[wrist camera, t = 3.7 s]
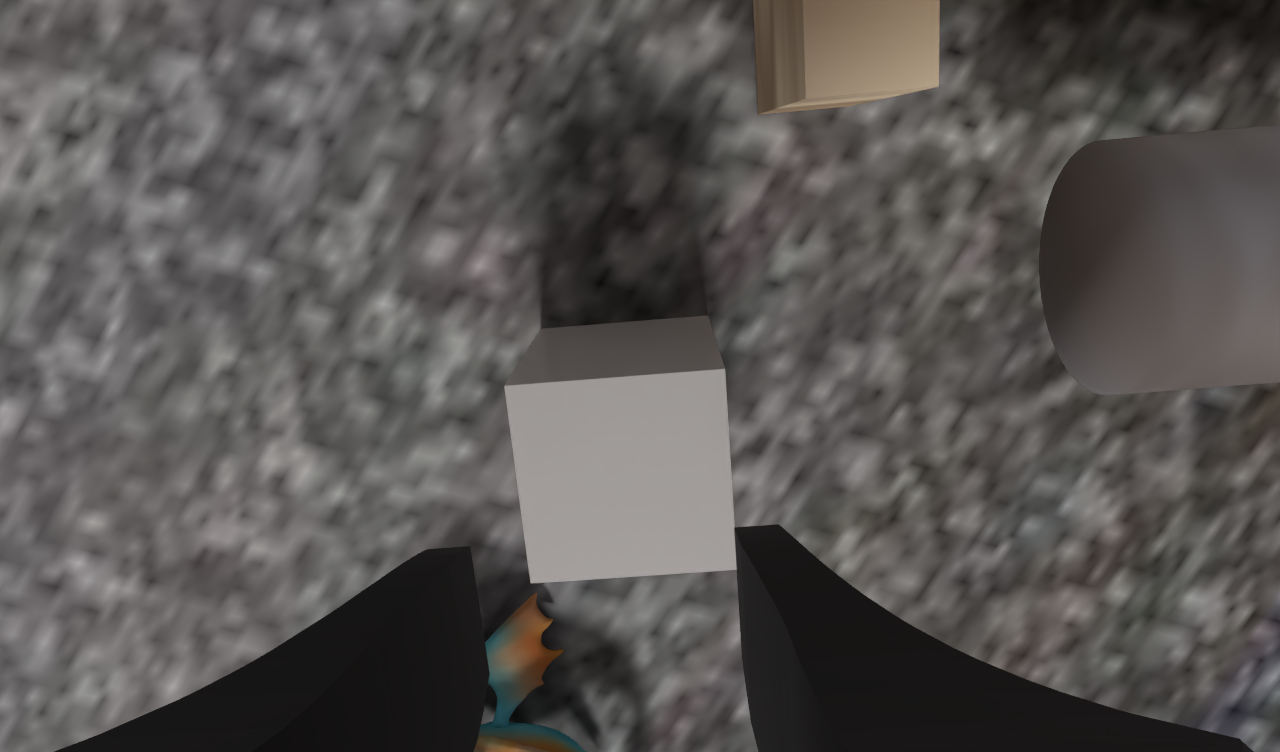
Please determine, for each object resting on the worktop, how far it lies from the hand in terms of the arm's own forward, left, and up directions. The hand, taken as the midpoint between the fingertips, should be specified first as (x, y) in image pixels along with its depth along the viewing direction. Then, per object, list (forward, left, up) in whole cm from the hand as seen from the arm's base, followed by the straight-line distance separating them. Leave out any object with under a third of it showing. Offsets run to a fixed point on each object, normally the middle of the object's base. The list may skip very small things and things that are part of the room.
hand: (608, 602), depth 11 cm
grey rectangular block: (0, 0, -9) cm, 9 cm away
